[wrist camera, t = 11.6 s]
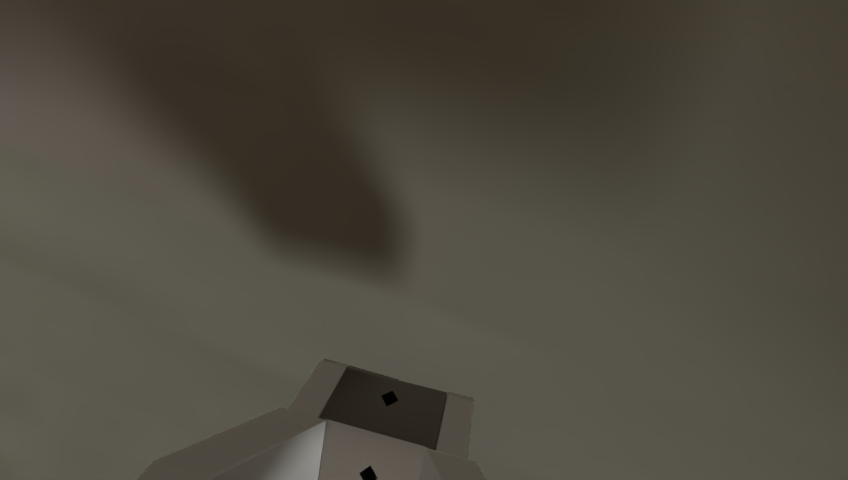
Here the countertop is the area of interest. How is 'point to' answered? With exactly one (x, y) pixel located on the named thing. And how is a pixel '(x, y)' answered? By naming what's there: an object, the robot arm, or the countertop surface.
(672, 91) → the countertop surface
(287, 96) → the countertop surface
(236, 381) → the countertop surface
